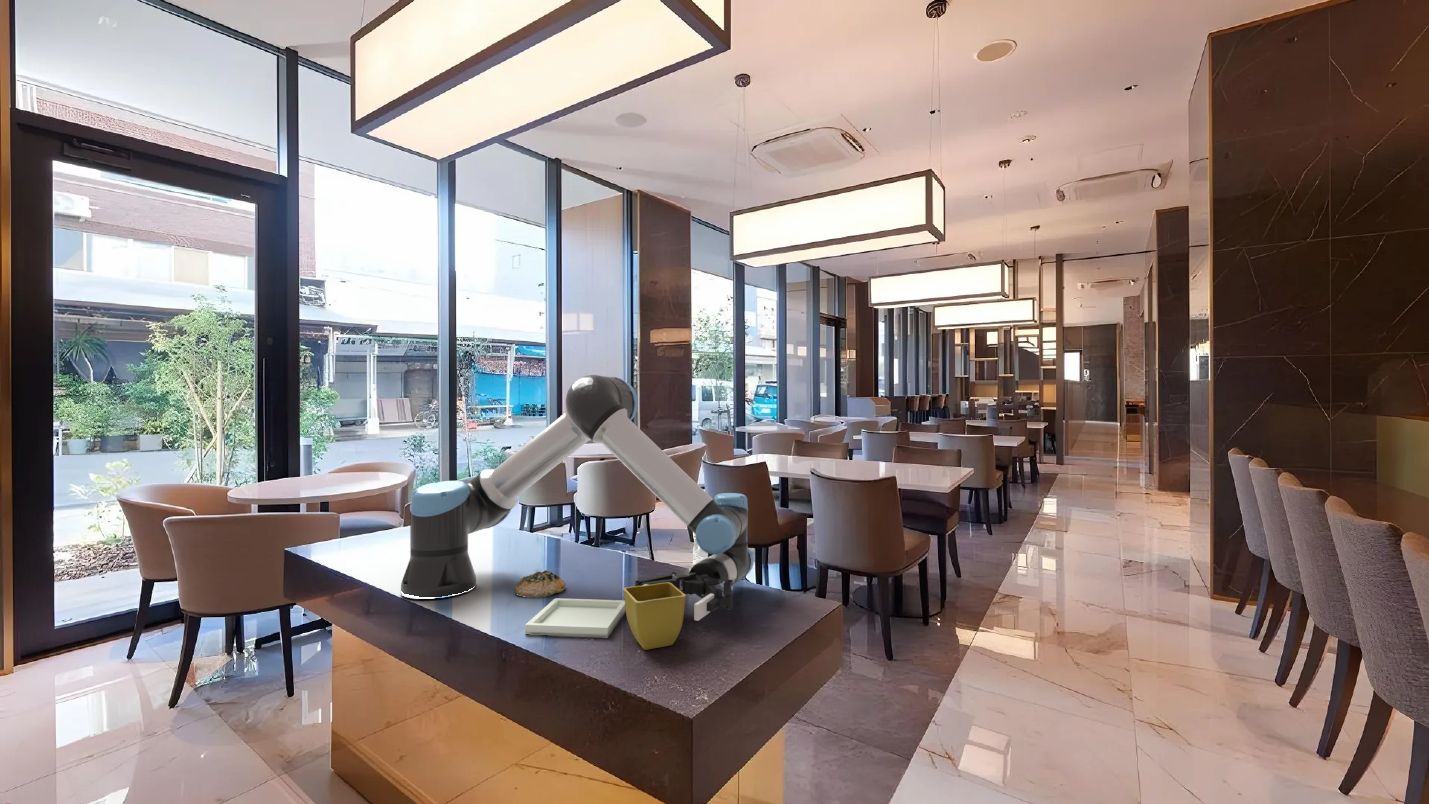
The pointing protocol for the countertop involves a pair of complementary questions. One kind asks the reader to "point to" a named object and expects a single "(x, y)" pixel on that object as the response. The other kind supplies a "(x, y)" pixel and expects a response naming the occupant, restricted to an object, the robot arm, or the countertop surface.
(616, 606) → the tray
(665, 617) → the flower pot
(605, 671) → the countertop surface
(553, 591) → the bread roll
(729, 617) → the countertop surface
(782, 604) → the countertop surface
